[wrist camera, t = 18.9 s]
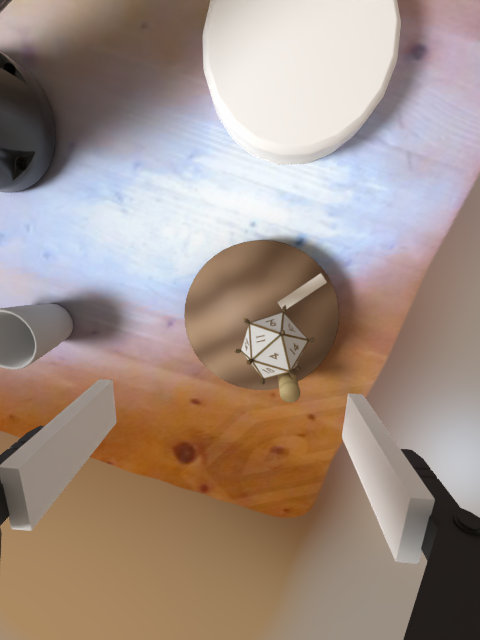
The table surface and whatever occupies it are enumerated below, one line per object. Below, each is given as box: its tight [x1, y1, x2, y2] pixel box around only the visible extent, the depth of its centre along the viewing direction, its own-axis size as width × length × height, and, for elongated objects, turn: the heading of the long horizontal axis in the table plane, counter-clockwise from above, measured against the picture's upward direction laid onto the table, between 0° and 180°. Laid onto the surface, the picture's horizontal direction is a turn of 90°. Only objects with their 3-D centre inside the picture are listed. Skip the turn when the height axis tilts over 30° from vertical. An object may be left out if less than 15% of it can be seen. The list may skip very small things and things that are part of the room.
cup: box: [0, 304, 73, 369], centre depth 38 cm, size 8×10×8 cm
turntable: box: [185, 240, 339, 402], centre depth 36 cm, size 20×20×7 cm
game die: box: [234, 305, 316, 386], centre depth 34 cm, size 9×8×10 cm
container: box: [202, 0, 401, 165], centre depth 31 cm, size 20×20×5 cm
